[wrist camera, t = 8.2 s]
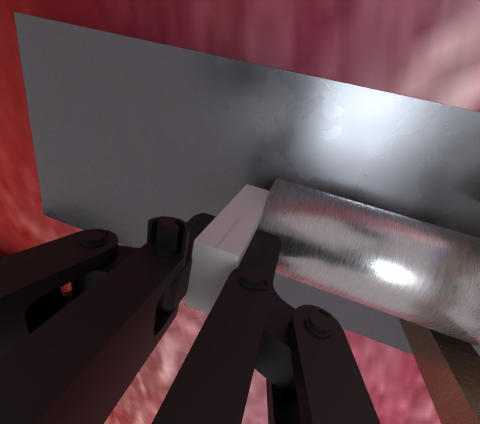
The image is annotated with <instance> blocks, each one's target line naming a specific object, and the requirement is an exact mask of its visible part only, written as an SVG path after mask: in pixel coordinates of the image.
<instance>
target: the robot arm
mask: <svg viewBox="0 0 480 424" xmlns="http://www.w3.org/2000/svg"><path fill="white" fill-rule="evenodd" d="M269 193H270V191H268V190H265V189H262V188H258V187H255V186H252V185H249V184H246V186H245V187H244V188H243V189H242V190H241V191H240V192H239V193H238V194H237V195H236V196H235V197H234V198H233V199H232V200H231V202H230V203H229V204H228V205H227V206H226V207H225V208H224V209H223V210H222V211H221V212H220V213H219V214H218V215H217V216H213V215H210V214H207V213H204V212H203V213H200V214H197V215H194V216H193V217H192V218H191V219H190V220H189V221H187V222H185V221H183V220H181V219H179V218H175V217H169V216H160V217H154V218H152V219H150V220H148V230H147V243H146V244H144V245H143V246H142V247H141V248H136V247H128V246H121V245H118V236H117V235H116V234H115V233H113V232H111V231H109V230H104V229H88V230H84V231H80V232H77V233H74V234H71V235H68V236H65V237H62V238H59V239H56V240H53V241H50V242H47V243H44V244H41V245H38V246H35V247H32V248H30V249H27V250H24V251H21V252H18V253H15V254H12V255H9V256H6V257H3V258H0V424H104V422H105V421H106V419H107V418H108V416H109V415H110V413H111V412H112V410H113V409H114V407H115V406H116V404H117V403H118V401H119V400H120V398H121V397H122V396H123V394H124V393H125V391H126V390H127V388H128V387H129V385H130V384H131V382H132V381H133V379H134V378H135V376H136V375H137V373H138V372H139V370H140V369H141V367H142V366H143V364H144V363H145V361H146V360H147V358H148V357H149V355H150V354H151V353H152V351H153V350H154V348H155V347H156V345H157V344H158V342H159V341H160V339H161V338H162V336H163V335H164V333H165V332H166V330H167V329H168V327H169V326H170V324H171V323H172V321H173V320H174V318H175V317H176V315H177V312H178V308H179V303H180V301H181V300H182V298H183V297H184V296H185V301H184V305H186V306H189V307H191V308H194V309H196V310H199V311H201V312H204V313H206V314H208V317H207V319H206V321H205V322H204V324H203V326H202V328H201V330H200V332H199V334H198V336H197V338H196V340H195V342H194V344H193V345H192V347H191V349H190V351H189V353H188V355H187V357H186V359H185V361H184V363H183V365H182V366H181V368H180V370H179V372H178V374H177V376H176V378H175V380H174V382H173V384H172V386H171V387H170V389H169V391H168V393H167V395H166V397H165V399H164V401H163V403H162V405H161V407H160V408H159V410H158V412H157V414H156V416H155V418H154V420H153V422H152V424H241V423H242V419H243V414H244V410H245V406H246V401H247V397H248V393H249V389H250V384H251V380H252V376H253V372H254V368H255V369H256V370H257V371H258V372H260V373H261V374H262V375H263V376H264V377H265V378H267V379H266V386H267V405H268V423H269V424H380V421H379V419H378V416H377V414H376V411H375V409H374V406H373V404H372V401H371V399H370V396H369V394H368V391H367V389H366V386H365V384H364V381H363V379H362V376H361V373H360V371H359V368H358V366H357V363H356V361H355V358H354V356H353V353H352V351H351V348H350V346H349V343H348V341H347V338H346V336H345V333H344V331H343V329H342V327H341V325H340V324H339V322H338V321H337V320H336V319H335V318H334V317H333V316H332V315H331V314H330V313H329V312H327V311H326V310H324V309H322V308H320V307H317V306H314V305H302V306H299V307H297V308H296V309H295V308H294V307H292V306H291V305H289V304H288V303H286V302H285V301H284V300H283V299H281V297H280V296H279V295H278V294H277V292H276V291H275V289H274V286H273V279H274V275H275V271H276V267H277V263H278V259H279V254H280V250H281V246H282V243H281V240H280V238H279V236H276V235H273V234H270V233H267V232H264V231H261V230H258V229H257V228H258V225H259V222H260V219H261V216H262V213H263V209H264V206H265V203H266V201H267V198H268V195H269ZM70 282H71V287H72V290H71V291H69V292H66V293H61V290H60V287H62V286H64V285H66V284H68V283H70ZM185 294H186V295H185Z"/></svg>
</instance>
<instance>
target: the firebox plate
mask: <svg viewBox="0 0 480 424" xmlns="http://www.w3.org/2000/svg"><path fill="white" fill-rule="evenodd" d="M14 17H15V24H16V30H17V37H18V44H19V51H20V57H21V64H22V71H23V77H24V84H25V91H26V98H27V104H28V111H29V118H30V124H31V131H32V138H33V145H34V151H35V158H36V165H37V172H38V178H39V185H40V192H41V198H42V205H43V212H44V215H46V216H48V217H51V218H54V219H56V220H59V221H61V222H64V223H67V224H69V225H72V226H75V227H77V228H80V229H83V230H88V229H104V230H109V231H111V232H113V233H115V234H116V235H117V236H118V243H120V244H122V245H125V246H128V247H136V248H141V247H142V246H143V245H144V244H146V243H147V230H148V220H150V219H152V218H154V217H160V216H169V217H175V218H179V219H181V220H183V221H185V222H187V221H189V220H190V219H191V218H192V217H193V216H194V215H197V214H200V213H203V212H204V213H207V214H210V215H213V216H217V215H218V214H219V213H220V212H221V211H222V210H223V209H224V208H225V207H226V206H227V205H228V204H229V203H230V202H231V200H232V199H233V198H234V197H235V196H236V195H237V194H238V193H239V192H240V191H241V190H242V189H243V188H244V187H245V186H246V184H249V185H252V186H255V187H258V188H262V189H265V190H268V191H270V190H271V188H272V185H273V183H274V181H275V179H276V178H278V179H281V180H285V181H288V182H291V183H295V184H298V185H302V186H305V187H308V188H312V189H315V190H318V191H322V192H325V193H329V194H332V195H335V196H339V197H342V198H346V199H349V200H352V201H356V202H359V203H362V204H366V205H369V206H373V207H376V208H379V209H383V210H386V211H389V212H393V213H396V214H400V215H403V216H406V217H410V218H413V219H417V220H420V221H423V222H427V223H430V224H433V225H437V226H440V227H444V228H447V229H450V230H454V231H457V232H461V233H464V234H467V235H471V236H474V237H477V238H480V112H476V111H472V110H467V109H463V108H458V107H453V106H449V105H444V104H439V103H435V102H430V101H425V100H421V99H416V98H411V97H407V96H402V95H398V94H393V93H388V92H384V91H379V90H374V89H370V88H365V87H360V86H356V85H351V84H346V83H342V82H337V81H333V80H328V79H323V78H319V77H314V76H309V75H305V74H300V73H295V72H291V71H286V70H281V69H277V68H272V67H268V66H263V65H258V64H254V63H249V62H244V61H240V60H235V59H230V58H226V57H221V56H216V55H212V54H207V53H203V52H198V51H193V50H189V49H184V48H179V47H175V46H170V45H165V44H161V43H156V42H151V41H147V40H142V39H138V38H133V37H128V36H124V35H119V34H114V33H110V32H105V31H100V30H96V29H91V28H86V27H82V26H77V25H73V24H68V23H63V22H59V21H54V20H49V19H45V18H40V17H35V16H31V15H26V14H21V13H17V12H14ZM273 286H274V289H275V291H276V292H277V294H278V295H279V296H280V297H281V299H283V300H284V301H285V302H286V303H288V304H289V305H291V306H292V307H294V308H295V309H296V308H297V307H299V306H302V305H314V306H317V307H320V308H322V309H324V310H326V311H327V312H329V313H330V314H331V315H332V316H333V317H334V318H335V319H336V320H337V321H338V322H339V324H340V325H341V327H342V328H344V329H347V330H349V331H352V332H355V333H357V334H360V335H363V336H365V337H368V338H371V339H373V340H376V341H378V342H381V343H384V344H386V345H389V346H392V347H394V348H397V349H400V350H402V351H405V352H407V353H410V354H413V355H414V357H415V360H416V362H417V365H418V367H419V370H420V372H421V375H422V377H423V379H424V382H425V384H426V387H427V389H428V392H429V394H430V397H431V399H432V401H433V404H434V406H435V409H436V411H437V414H438V416H439V419H440V421H441V423H442V424H480V347H479V346H476V345H473V344H471V343H468V342H465V341H462V340H459V339H457V338H454V337H451V336H448V335H446V334H443V333H440V332H437V331H435V330H432V329H429V328H426V327H424V326H421V325H418V324H415V323H412V322H410V321H407V320H404V319H401V318H399V317H396V316H393V315H390V314H388V313H385V312H382V311H379V310H376V309H374V308H371V307H368V306H365V305H363V304H360V303H357V302H354V301H352V300H349V299H346V298H343V297H340V296H338V295H335V294H332V293H329V292H327V291H324V290H321V289H318V288H316V287H313V286H310V285H307V284H305V283H302V282H299V281H296V280H293V279H291V278H288V277H285V276H282V275H280V274H277V273H275V275H274V279H273Z"/></svg>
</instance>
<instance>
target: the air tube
mask: <svg viewBox="0 0 480 424" xmlns="http://www.w3.org/2000/svg"><path fill="white" fill-rule="evenodd" d="M257 229H258V230H261V231H264V232H267V233H270V234H273V235H276V236H279V238H280V240H281V243H282V246H281V250H280V254H279V259H278V263H277V267H276V271H275V273H277V274H280V275H282V276H285V277H288V278H291V279H293V280H296V281H299V282H302V283H305V284H307V285H310V286H313V287H316V288H318V289H321V290H324V291H327V292H329V293H332V294H335V295H338V296H340V297H343V298H346V299H349V300H352V301H354V302H357V303H360V304H363V305H365V306H368V307H371V308H374V309H376V310H379V311H382V312H385V313H388V314H390V315H393V316H396V317H399V318H401V319H404V320H407V321H410V322H412V323H415V324H418V325H421V326H424V327H426V328H429V329H432V330H435V331H437V332H440V333H443V334H446V335H448V336H451V337H454V338H457V339H459V340H462V341H465V342H468V343H471V344H473V345H476V346H479V347H480V238H477V237H474V236H471V235H467V234H464V233H461V232H457V231H454V230H450V229H447V228H444V227H440V226H437V225H433V224H430V223H427V222H423V221H420V220H417V219H413V218H410V217H406V216H403V215H400V214H396V213H393V212H389V211H386V210H383V209H379V208H376V207H373V206H369V205H366V204H362V203H359V202H356V201H352V200H349V199H346V198H342V197H339V196H335V195H332V194H329V193H325V192H322V191H318V190H315V189H312V188H308V187H305V186H302V185H298V184H295V183H291V182H288V181H285V180H281V179H278V178H276V179H275V181H274V183H273V185H272V188H271V190H270V193H269V195H268V198H267V201H266V203H265V206H264V209H263V213H262V216H261V219H260V222H259V225H258V228H257Z"/></svg>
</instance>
